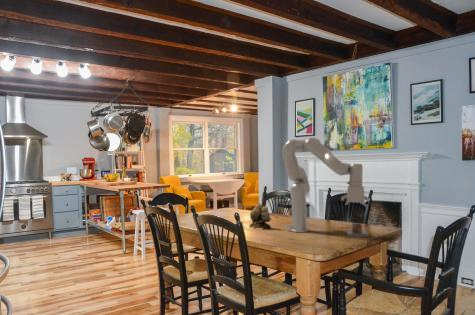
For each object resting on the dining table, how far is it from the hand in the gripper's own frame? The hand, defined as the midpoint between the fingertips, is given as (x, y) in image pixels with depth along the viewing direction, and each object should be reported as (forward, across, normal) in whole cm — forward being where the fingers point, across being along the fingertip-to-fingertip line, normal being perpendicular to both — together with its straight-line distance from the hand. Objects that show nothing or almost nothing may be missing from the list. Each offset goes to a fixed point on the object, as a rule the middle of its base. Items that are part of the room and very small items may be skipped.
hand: (355, 211), depth 229 cm
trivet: (+14, +1, 0) cm, 14 cm away
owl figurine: (+17, -61, +21) cm, 66 cm away
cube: (+12, +1, 0) cm, 13 cm away
